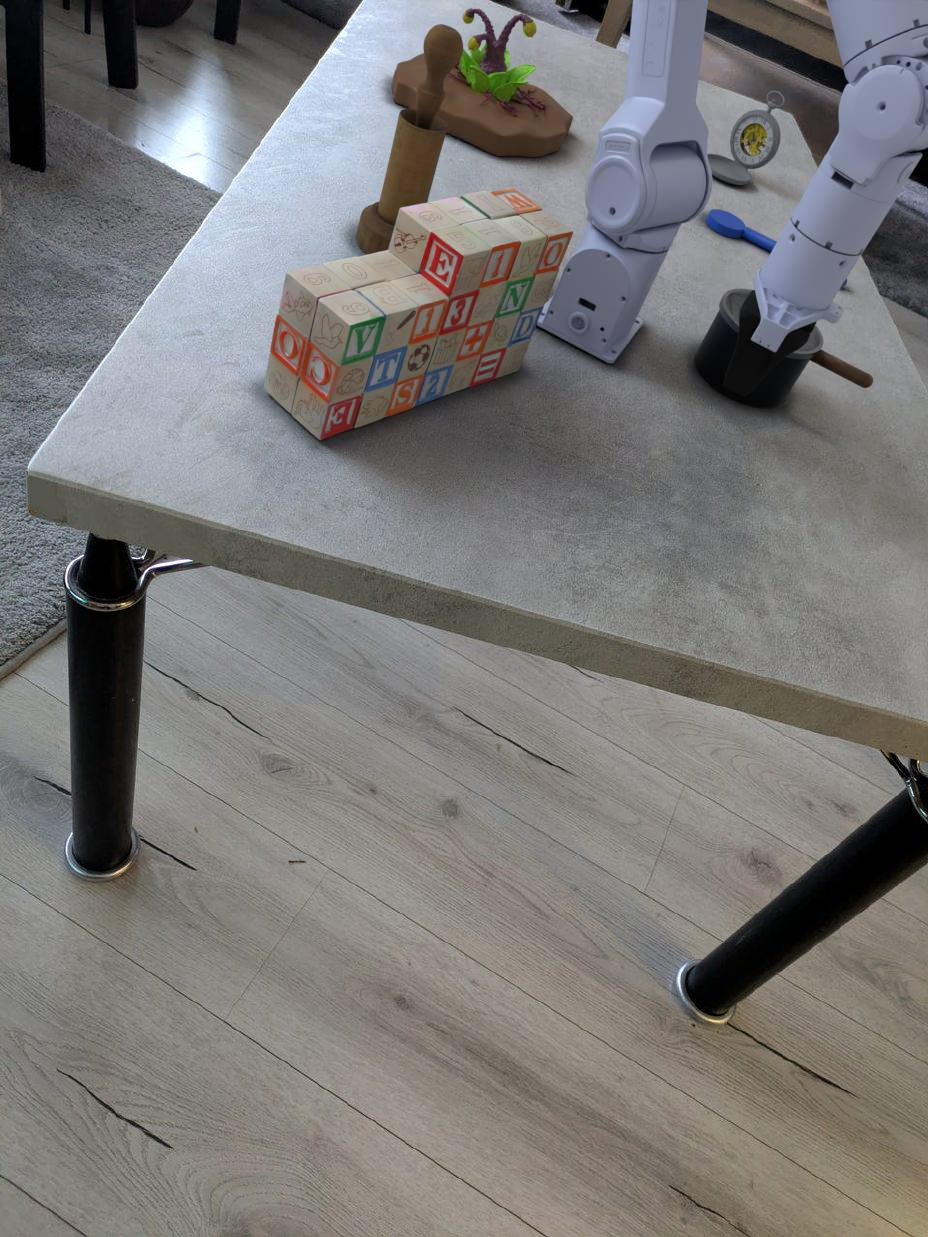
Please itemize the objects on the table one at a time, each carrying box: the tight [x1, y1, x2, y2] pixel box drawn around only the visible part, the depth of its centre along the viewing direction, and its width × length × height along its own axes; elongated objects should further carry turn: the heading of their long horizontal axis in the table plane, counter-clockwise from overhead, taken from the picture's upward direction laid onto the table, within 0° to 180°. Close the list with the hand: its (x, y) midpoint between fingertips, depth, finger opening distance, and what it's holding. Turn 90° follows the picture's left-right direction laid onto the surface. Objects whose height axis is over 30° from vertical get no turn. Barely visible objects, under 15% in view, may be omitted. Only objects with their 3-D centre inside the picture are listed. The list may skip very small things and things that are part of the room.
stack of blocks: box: [263, 187, 574, 441], centre depth 69 cm, size 21×6×12 cm, turn 136°
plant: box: [390, 8, 574, 158], centre depth 110 cm, size 20×20×11 cm
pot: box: [693, 288, 874, 409], centre depth 87 cm, size 10×15×6 cm, turn 64°
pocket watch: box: [707, 90, 786, 186], centre depth 121 cm, size 8×8×10 cm
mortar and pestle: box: [355, 23, 464, 255], centre depth 80 cm, size 7×6×18 cm
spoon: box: [705, 208, 848, 288], centre depth 111 cm, size 17×4×1 cm, turn 64°
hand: (735, 387), depth 81 cm, fingers closed
